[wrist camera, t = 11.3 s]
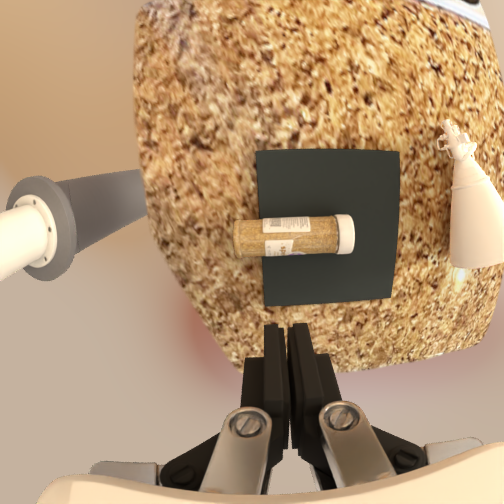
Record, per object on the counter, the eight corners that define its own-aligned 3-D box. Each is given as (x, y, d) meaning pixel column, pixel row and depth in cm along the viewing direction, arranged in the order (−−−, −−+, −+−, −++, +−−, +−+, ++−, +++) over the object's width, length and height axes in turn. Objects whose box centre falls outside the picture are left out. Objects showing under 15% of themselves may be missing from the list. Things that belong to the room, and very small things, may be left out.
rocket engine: (477, 102, 19) (520, 263, 20) (487, 114, 25) (520, 235, 26) (399, 133, 29) (440, 272, 30) (426, 136, 35) (459, 245, 36)
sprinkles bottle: (233, 262, 31) (355, 257, 30) (230, 221, 30) (356, 216, 29) (239, 253, 36) (346, 249, 34) (236, 216, 35) (346, 212, 33)
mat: (264, 305, 38) (264, 306, 38) (255, 151, 32) (255, 150, 32) (389, 296, 37) (390, 297, 36) (398, 151, 31) (399, 151, 30)
